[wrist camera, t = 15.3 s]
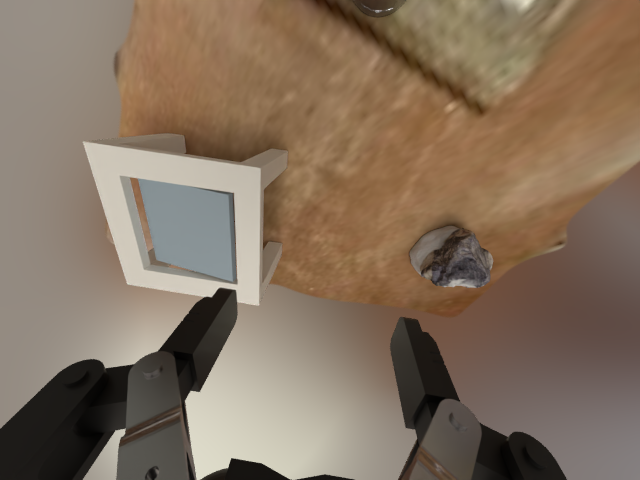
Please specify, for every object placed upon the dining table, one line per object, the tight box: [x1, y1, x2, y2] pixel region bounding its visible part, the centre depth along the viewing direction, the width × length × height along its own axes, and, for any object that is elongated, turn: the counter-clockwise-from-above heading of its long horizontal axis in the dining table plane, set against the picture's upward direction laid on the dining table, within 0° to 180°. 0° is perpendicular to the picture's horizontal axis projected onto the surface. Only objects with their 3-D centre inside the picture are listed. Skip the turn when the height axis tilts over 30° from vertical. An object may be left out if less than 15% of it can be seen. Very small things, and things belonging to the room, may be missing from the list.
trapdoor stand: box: [83, 133, 288, 306], centre depth 41 cm, size 22×22×16 cm
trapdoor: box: [138, 178, 236, 282], centre depth 36 cm, size 14×14×1 cm
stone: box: [409, 226, 493, 288], centre depth 45 cm, size 14×10×15 cm
